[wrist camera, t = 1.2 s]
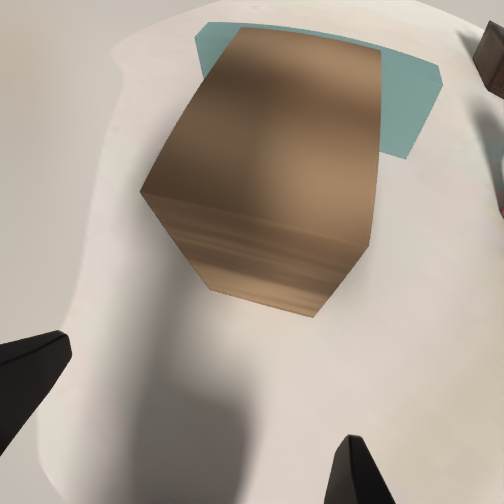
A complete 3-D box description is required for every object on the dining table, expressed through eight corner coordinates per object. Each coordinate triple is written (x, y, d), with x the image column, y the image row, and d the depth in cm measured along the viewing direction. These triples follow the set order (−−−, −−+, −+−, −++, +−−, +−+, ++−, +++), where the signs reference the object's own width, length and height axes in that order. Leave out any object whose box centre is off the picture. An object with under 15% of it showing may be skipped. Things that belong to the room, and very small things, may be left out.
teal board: (405, 159, 27) (443, 84, 18) (212, 116, 30) (194, 37, 21) (405, 138, 28) (437, 65, 19) (221, 98, 31) (208, 22, 22)
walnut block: (313, 317, 22) (368, 245, 9) (209, 289, 24) (139, 191, 11) (341, 183, 26) (381, 50, 13) (254, 163, 28) (241, 27, 15)
